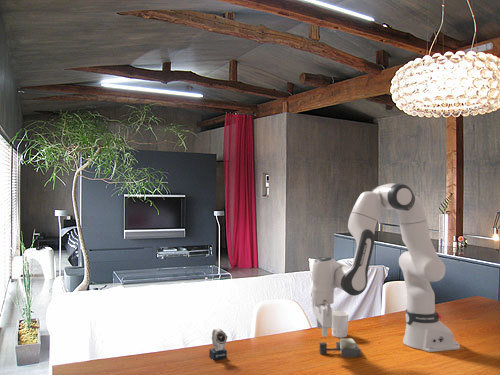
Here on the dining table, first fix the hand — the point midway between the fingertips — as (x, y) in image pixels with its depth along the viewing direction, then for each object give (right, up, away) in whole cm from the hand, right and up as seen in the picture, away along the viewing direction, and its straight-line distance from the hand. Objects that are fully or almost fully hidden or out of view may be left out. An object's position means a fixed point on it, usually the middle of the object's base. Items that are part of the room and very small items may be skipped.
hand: (321, 332), depth 174 cm
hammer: (+6, -9, 0) cm, 11 cm away
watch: (-41, -9, -5) cm, 43 cm away
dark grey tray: (+11, -9, +1) cm, 14 cm away
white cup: (+12, -9, +22) cm, 26 cm away
